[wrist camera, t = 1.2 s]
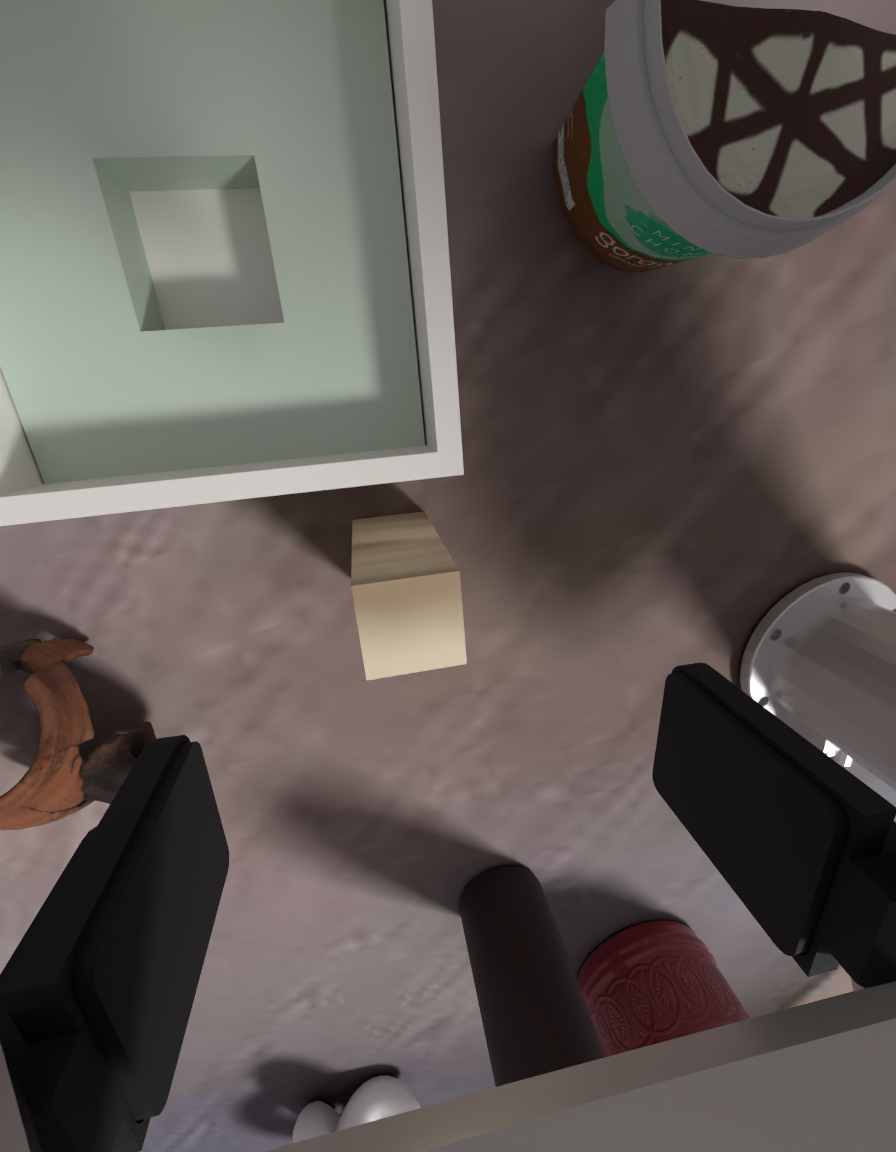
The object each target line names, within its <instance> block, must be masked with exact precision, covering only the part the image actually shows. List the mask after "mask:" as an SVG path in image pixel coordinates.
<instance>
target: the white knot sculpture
mask: <svg viewBox="0 0 896 1152" xmlns="http://www.w3.org/2000/svg"><path fill="white" fill-rule="evenodd" d="M418 1108H421V1107H420V1105H419V1103H418V1101H417V1099H416V1098H415V1096H414V1094H413V1093H412V1092H411V1091H410V1089H409V1088H408V1087H407V1086H406V1085H405V1084H404V1083H403V1082H401V1081H400V1080H398V1079H397V1078H394V1077H391V1076H388V1075H383V1076H376V1077H373V1078H371V1079H369V1080H368V1081H366V1082H364V1083H363V1084H362V1085H361V1086H360V1087H359V1088H358V1089H357V1090H356V1091H355V1093H354V1094H353V1095H352V1096H351V1098H350V1100H349V1101H348V1103H347V1105H346V1106H345V1108H344V1110H343V1112H342V1114H341V1117H340V1116H339V1114H338V1113H337V1112H336V1111H335V1110H334V1109H333V1108H332V1107H331V1106H329V1105H327V1104H325V1103H323V1102H322V1101H315V1102H312V1103H309V1104H308V1105H307V1106H306V1107H305V1108H304V1109H303V1110H302V1111H301V1112H300V1114H299V1115H298V1118H297V1121H296V1124H295V1127H294V1130H293V1143H296V1142H299V1141H303V1140H307V1139H310V1138H314V1137H317V1136H321V1135H325V1134H328V1133H332V1132H335V1131H339V1130H343V1129H346V1128H350V1127H354V1126H357V1125H361V1124H364V1123H368V1122H372V1121H375V1120H379V1119H382V1118H386V1117H390V1116H393V1115H397V1114H400V1113H404V1112H408V1111H411V1110H415V1109H418Z"/></svg>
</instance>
